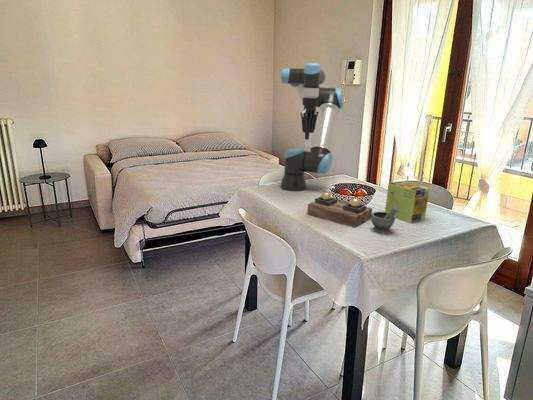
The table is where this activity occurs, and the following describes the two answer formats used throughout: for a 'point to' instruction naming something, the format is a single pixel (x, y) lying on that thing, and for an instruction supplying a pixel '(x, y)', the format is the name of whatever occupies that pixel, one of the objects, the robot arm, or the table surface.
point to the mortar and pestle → (383, 220)
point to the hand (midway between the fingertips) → (307, 145)
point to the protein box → (407, 200)
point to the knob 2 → (355, 202)
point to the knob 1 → (326, 196)
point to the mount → (339, 212)
